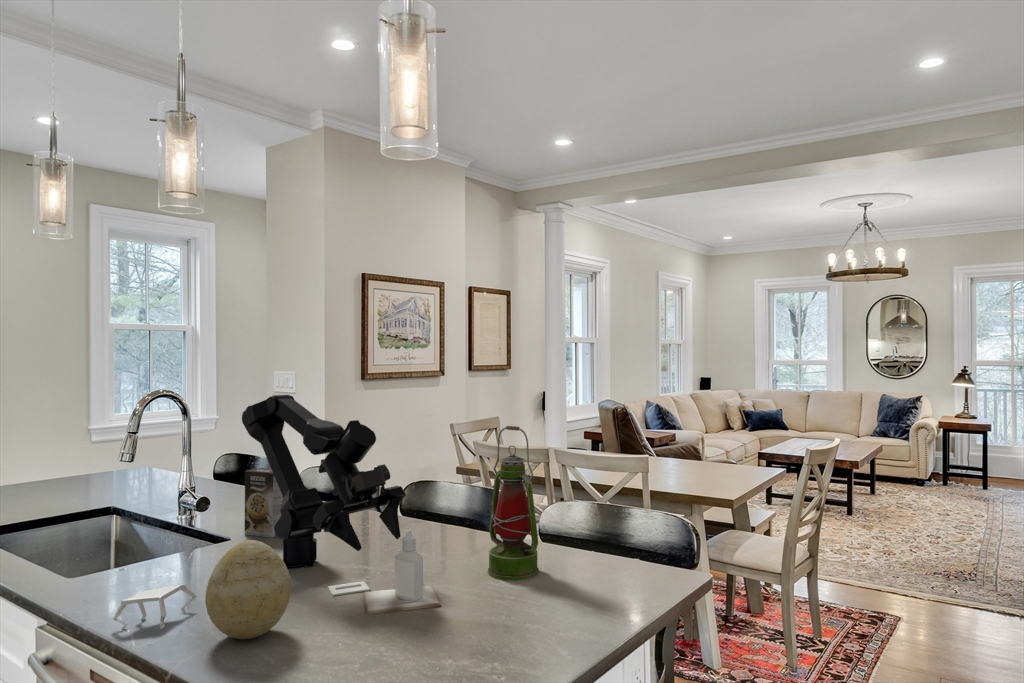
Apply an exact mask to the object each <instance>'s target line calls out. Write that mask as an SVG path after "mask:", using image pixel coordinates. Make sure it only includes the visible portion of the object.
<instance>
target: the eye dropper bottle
mask: <svg viewBox="0 0 1024 683" xmlns="http://www.w3.org/2000/svg"><path fill="white" fill-rule="evenodd" d="M401 540H402V541H401V542H402V543H401V548H402V549H401V550H400V551H398V552H396V554H395V555H394V589H395V595H396V596H397V597H398V598H400V599H403V600H408V601H416V600H419V599H421V598H423V586H424V559H423V556H422V554H421V553H420V552H419V551H417V550H416V546H417V545H416V544H417V543H416V540H417V539H416V537H415V536H413V535H412V531H411V530H409V529H408V530H406V535H405V536H404V537H403V538H401Z"/></svg>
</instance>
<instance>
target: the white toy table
mask: <svg viewBox="0 0 1024 683" xmlns="http://www.w3.org/2000/svg"><path fill="white" fill-rule="evenodd" d="M180 591H182V592H183V593H186V594H187V595H189V596H191V597H190V598H189V599H188V601H187V602H186V603H185V604H183V605H182V607H181V608H180V610H181V611H182V612H183V613H184V614H188V613H189V612H188V611H187V610H186V607H187V606H188V605H189V604H191V602H192V601H194V600H196V598H197V597H198V596H197V595H196V594H195V593H194V592H193V591H192V590H190V589H189V588H188V587H187V585H186V584H178V585H170V586H163V587H158V588H154V589H153V588H152V589H149V590H143V591H140V592H139V593H137V594H134V595H131V596H130V597H127V598H125V599H122V600H121V601H120V605H119V607H118V609H117V611H116V613H115V614H114V616H113V618H112V620H113V621H116V622H118V623H120V624H122V625H123V627H121V628H120V630H124V629H126V627H128V625H129V623H127V622H125V621H122V620H120V619H118V618H119V616H120V615H121V613H122V612H123V610H124V609H125V608H126V607H127V605H132V604H137V606H138V608H139V610H140V612H141V615H142V618H141V619H140V621H144V620H146V618H147V613H146V608H145V606H144V603H147V602H148V603H151V602H159V612H160V613H159V614H160V619H159V621H160V622H159V624H160V625H159V629H163V628H165V626H166V625H165V618H166V616H167V609H166V605H165V599H167V598H168V597H170V596H172V595H174V594H176V593H177V592H180Z"/></svg>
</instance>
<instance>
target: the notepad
mask: <svg viewBox="0 0 1024 683" xmlns="http://www.w3.org/2000/svg"><path fill="white" fill-rule="evenodd" d="M362 596H363V603H364V610H365V615H373V614H382V613H390V612H391V613H392V612H401V611H411V610H420V609H430V608H432V609H433V608H440V607H441V606H442V603H441V602H440V599H439V598H438V596H437V593H436V591H435V588H434V586H433V585H426V586H424V585H423V598H421V599H419V600H416V601H408V600H403V599H400V598H398V597H397V596H396V595H395V588H392V589H384V590H383V589H382V590H372V591H371V590H369V591H364V592H362Z"/></svg>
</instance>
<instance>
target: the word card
mask: <svg viewBox="0 0 1024 683" xmlns="http://www.w3.org/2000/svg"><path fill="white" fill-rule="evenodd" d="M327 588H328V590H329V592H330V594H331V596H332V597H335V596H342V595H349V594H353V593H354V594H355V593H363V592H370V591H371V588H370V587H369V586H368V584H367V583H366V582H365V581H364V580H362V581H355V582H349V583H348V582H347V583H343V584H334V585H328V586H327Z"/></svg>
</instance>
